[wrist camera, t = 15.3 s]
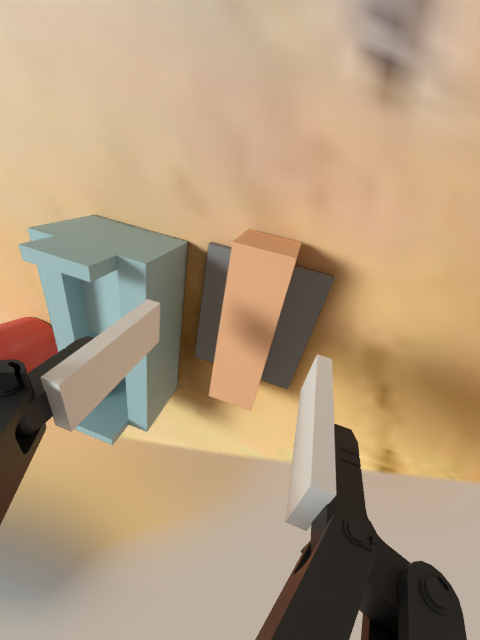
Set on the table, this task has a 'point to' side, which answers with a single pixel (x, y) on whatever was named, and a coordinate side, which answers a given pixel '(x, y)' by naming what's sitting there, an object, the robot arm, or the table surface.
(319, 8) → the table surface
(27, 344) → the flower pot
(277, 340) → the mat
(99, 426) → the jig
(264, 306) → the bar
